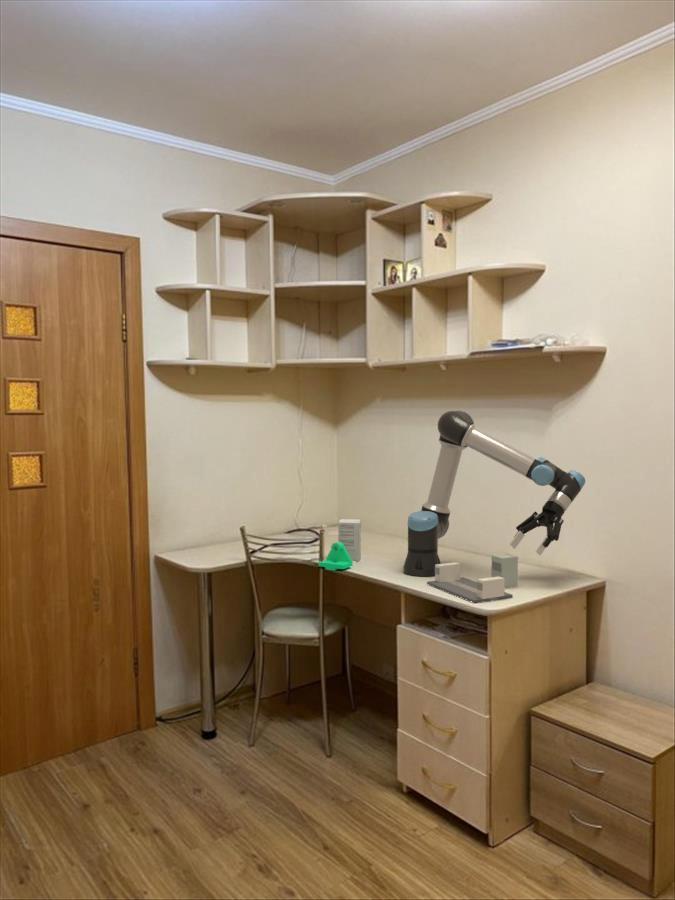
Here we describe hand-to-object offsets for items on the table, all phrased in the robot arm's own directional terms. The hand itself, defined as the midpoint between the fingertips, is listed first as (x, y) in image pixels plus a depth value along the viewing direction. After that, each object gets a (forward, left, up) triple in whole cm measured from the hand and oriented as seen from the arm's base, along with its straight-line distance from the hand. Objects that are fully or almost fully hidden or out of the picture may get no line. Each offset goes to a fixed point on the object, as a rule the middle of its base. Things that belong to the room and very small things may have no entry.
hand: (524, 549), depth 251 cm
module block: (-1, -9, -13) cm, 15 cm away
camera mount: (-54, -51, -13) cm, 76 cm away
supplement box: (-66, -39, -13) cm, 77 cm away
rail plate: (-1, -25, -13) cm, 28 cm away
